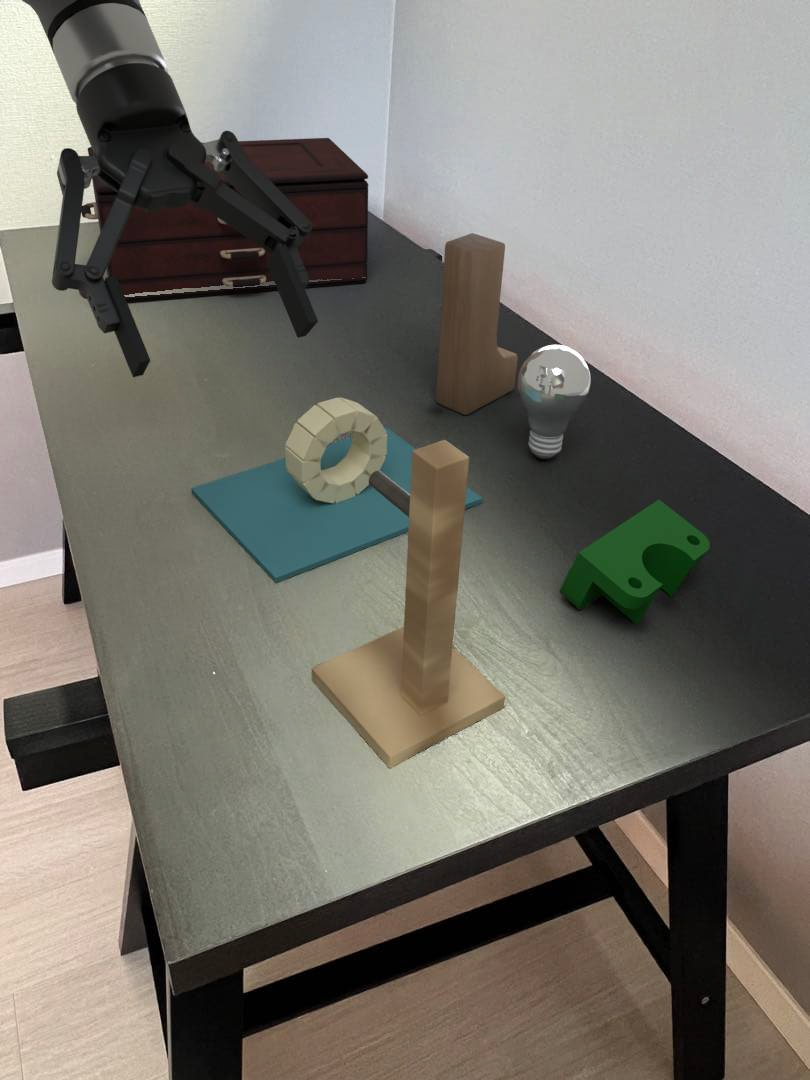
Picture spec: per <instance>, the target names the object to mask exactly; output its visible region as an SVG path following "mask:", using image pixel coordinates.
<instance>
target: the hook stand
mask: <svg viewBox="0 0 810 1080" xmlns="http://www.w3.org/2000/svg"><path fill="white" fill-rule="evenodd" d="M469 466H470V456H468V455H467V454H465V453H464V452H463V451H461V450H460V449H459V448H457V446H456V447H455V446H454V445H453V444H451V443H450V442H448V441H447V440H446V439H442V440H439V441H436V442H434V443H430V444H428V445H425V446H424V445H423V446H422V447H419V448H415V450H413V451H412V467H411V488H410V493H408V492H407V491H406V490H405V489H403V488H402V487H401V486H400V485H398V484H397V483H396V482H395V481H393V480H392V479H391V478H390V477H388V476H387V475H386V474H385V473H383V472H382V471H379V470H378V471H375V472H373V473H372V474H371V475H370V477H369V485H370V486H371V487H373V488H374V489H375V490H376V491H377V492H379V493H380V494H381V495H382V496H383V497H385V498H386V499H387V500H388V501H390V502H391V503H392V504H393V505H394V506H396V507H397V508H398V509H399V510H400V511H402V512H403V513H404V514H405V515H406V516H408V517H409V530H408V532H407V533H408V535H407V552H406V571H405V573H406V574H405V575H406V576H405V596H404V615H403V618H404V619H403V627H399V628H398V629H397V630H394V631H391V632H389V633H386V634H384V635H382V636H380V637H378V638H376V639H373V640H371V641H369V642H367V643H365V644H362V645H360V646H358V647H355V648H353V649H351V650H349V651H347V652H344V653H342V654H340V655H338V656H335V657H333V658H331V659H329V660H327V661H325V662H322V663H320V664H317V665H315V666H313V667H311V680H312V681H313V683H314V684H315V685H316V686H317V687H318V688H319V689H320V690H321V692H322V693H323V694H324V696H326V697H327V699H328V700H329V701H330V702H331V703H332V705H334V707H335V708H336V709H337V710H338V711H339V712H340V714H342V716H343V717H344V718H345V719H346V720H347V722H348V723H349V724H350V725H351V727H353V729H354V730H355V731H356V732H357V733H358V734H359V735H360V737H361V738H363V740H364V741H365V742H366V744H367V745H368V746H369V747H370V748H371V749H372V750H373V751H374V753H375V754H376V755H377V756H378V757H379V758H380V759H381V761H382V762H383V763H384V764H385V765H386V767H388V769H391V768H393V767H395V766H397V765H399V764H400V763H402V762H404V761H406V760H409V759H411V758H412V757H414V756H416V755H417V754H420V753H421V752H423V751H425V750H427V749H429V748H431V747H433V746H434V745H436V744H438V743H440V742H442V741H444V740H446V739H447V738H449V737H451V736H453V735H455V734H457V733H459V732H461V731H463V730H464V729H467V728H468V727H470V726H472V725H474V724H476V723H477V722H479V721H481V720H483V719H485V718H487V717H489V716H490V715H492V714H495V713H496V712H498V711H500V710H502V709H504V707H505V703H506V702H505V701H506V696H505V694H503V692H502V691H500V689H499V688H498V687H496V686H495V685H494V684H493V683H492V682H491V681H490V680H489V679H488V678H487V677H486V676H485V675H484V674H482V673H481V672H480V670H478V669H477V667H475V666H473V664H471V662H470V661H468V660H467V659H466V658H465V657H464V656H463V655H462V654H461V653H460V652H459V651H457V650H456V649H455V648H454V647H453V646H454V645H453V644H454V634H455V622H456V612H457V611H456V610H457V600H458V589H459V588H458V586H459V578H460V568H461V567H460V566H461V557H462V543H463V533H464V522H465V511H466V509H465V500H466V489H467V487H468V478H469V477H468V476H469Z"/></svg>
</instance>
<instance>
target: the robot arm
mask: <svg viewBox="0 0 810 1080" xmlns="http://www.w3.org/2000/svg"><path fill="white" fill-rule="evenodd" d="M21 1H22V2H23V3H25V4H27V5H28V6H30V8H31V9H32V10H33V11H34V13H35V14H36V15H37V17H38V20H39V23H40V24H41V26H42V29H43V31H44V34H45V36H46V38H47V40H48V42H49V46H50V48H51V50H52V53H53V56H54V58H55V61H56V63H57V65H58V68H59V70H60V72H61V76H62V77H63V80H64V83H65V85H66V87H67V90H68V92H69V95H70V97H71V99H72V101H73V103H74V104H75V107H76V112H77V116H78V117H79V121H80V122H81V125H82V127H83V130H84V133H85V136H86V137H87V139H88V143H89V144H90V147H92V149H93V151H94V153H95V156H89V155H79V153H78V152H77V151H76V150H74V149H73V148H71V147H65V148H63V149H62V150H61V152H60V156H59V161H58V164H57V165H58V166H57V170H56V176H57V179H58V183H59V188H60V191H61V195H62V200H61V206H60V216H59V223H58V230H57V237H56V247H55V254H54V262H53V269H52V277H51V285H52V286H53V288H54V289H56V290H57V291H61V292H62V291H63V292H64V291H67V290H68V289H70V290H71V289H72V290H77V291H78V293H79V295H80V297H81V298H83V299H86V300H87V302H88V304H89V307H90V309H91V312H92V314H93V317H94V319H95V322H96V324H97V327H98V328H99V330H100V331H102V333H103V334H108V333H112V332H114V334H115V336H116V339H117V341H118V344H119V347H120V349H121V352H122V354H123V357H124V360H125V362H126V365H127V366H128V368H129V371H130V374H131V376H132V378H136V377H141V376H143V375H144V374H145V372H146V370H147V368H148V367H149V364H150V362H151V361H152V360H151V358H150V356H149V353H148V350H147V348H146V346H145V343H144V340H143V339H142V336H141V333H140V330H139V328H138V326H137V324H136V320H135V318H134V316H133V313H132V311H131V309H130V306H129V304H128V303H127V301H126V299H125V296H124V294H123V291H122V289H121V286H120V284H119V281H118V279H117V277H116V276H111V277H108V276H107V277H105V278H104V276H105V273H106V272H107V266H108V264H109V261H110V259H111V257H112V254H113V252H114V250H115V247H116V245H117V243H118V240H119V238H120V236H121V233H122V231H123V229H124V226H125V224H126V222H127V220H128V218H129V215H130V213H131V210H132V208H133V206H134V205H135V206H136V207H138V208H141V209H145V210H146V212H153V211H157V210H159V209H162V208H164V207H169V208H180V207H185V205H186V203H188V202H189V203H191V204H192V205H194V206H195V207H197V208H198V209H200V210H201V211H209V212H210V213H212V214H213V215H215V216H216V217H218V218H219V219H221V220H222V221H224V222H225V223H227V224H228V225H229V226H231V227H232V228H234V229H235V230H237V231H238V232H240V233H241V234H243V235H244V236H246V237H247V238H248V239H250V240H251V241H253V242H254V243H256V244H257V245H259V246H260V247H262V248H263V249H265V250H266V251H267V252H269V253H270V254H272V255H271V257H270V258H269V260H268V261H267V265H268V267H269V270H270V272H271V275H272V277H273V280H274V282H275V284H276V287H277V289H278V290H277V291H278V294H279V297H280V299H281V301H282V304H283V306H284V308H285V311H286V313H287V315H288V318H289V320H290V323H291V326H292V328H293V330H294V333H295V335H296V337H297V339H298V338H302V337H307V335H308V334H309V333H310V332H311V330H313V328H314V327H315V326H316V325H317V324H318V322H319V320H318V318H317V315H316V313H315V310H314V308H313V305H312V303H311V300H310V299H309V296H308V293H307V291H306V287H307V285H308V284H309V276H308V273H307V271H306V268H305V266H304V264H303V261H302V259H301V256H300V254H299V252H298V249H297V247H300V246H301V244H302V243H303V242H304V240H305V239H306V237H307V236H308V234H309V233H310V231H311V230H312V224H311V222H310V221H309V220H308V219H307V218H306V217H305V216H304V215H303V214H302V213H301V212H300V211H299V210H298V208H297V207H296V206H295V205H294V204H293V203H292V202H291V201H290V200H289V199H288V198H287V197H286V196H285V195H284V194H283V193H282V192H281V191H280V190H279V189H278V188H277V187H276V186H275V185H274V184H273V183H272V182H271V181H270V180H269V179H268V178H267V177H266V176H265V174H264V173H263V172H262V171H261V170H260V169H259V168H258V167H257V166H256V165H255V164H254V163H253V162H252V161H251V160H250V159H249V158H248V157H247V156H246V155H245V153H244V151H243V149H242V147H241V145H240V143H239V142H238V141H239V140H238V137H237V136H236V135H235V133H234V132H232V131H230V130H223V131H222V132H221V134H220V136H219V138H218V139H214V140H211V141H206V142H201V140H200V139H199V138H197V137H196V135H195V134H194V133H193V131H192V129H191V125H190V121H189V118H188V115H187V111H186V109H185V107H184V105H183V103H182V102H183V101H182V100H181V97H180V95H179V91H178V90H177V88H176V85H175V82H174V80H173V78H172V76H171V75H170V74H169V68H168V66H167V63H166V60H165V58H164V56H163V54H162V51H161V48H160V46H159V44H158V42H157V39H156V38H155V35H154V32H153V30H152V27H151V25H150V23H149V20H148V17H147V16H146V13H145V10H143V7H142V4H141V1H140V0H21ZM205 162H210V163H211V164H213V165H214V166H215V167H214V169H215V171H217V172H221V171H222V173H223V175H224V176H225V177H226V179H227V180H228V181H229V182H230V184H231V185H232V186H233V187H234V188H235V189H236V190H237V191H238V192H239V193H240V194H241V195H242V196H243V197H242V196H241V195H240V194H238V193H237V192H235V191H234V190H232V189H231V188H230V187H228V186H227V185H225V184H224V183H223V182H222V179H221V177H220V176H219V175H218V174H217V173H215V172H214V171H212V170H211V169H209V168H208V167H207V166H205V165H204V163H205ZM95 175H97V176H98V177H99V179H100V180H102V181H103V182H104V183H106V184H107V185H108V186H110V187H111V188H112V189H113V190H115V191H116V192H117V196H116V198H115V201H114V203H113V205H112V207H111V210H110V212H109V214H108V217H107V219H106V221H105V224H104V226H103V228H102V230H101V233H100V232H99V235H98V237H97V240H96V242H95V244H94V246H93V249H92V251H91V253H90V256H89V258H88V259H87V262H86V264H79V263H76V258H77V250H78V242H79V233H80V225H81V219H82V213H81V210H82V206H83V201H84V194H85V190H86V189H88V188H89V187H90V186H91V182H92V177H93V176H95ZM199 182H200V183H201V184H202V185H203V186H204V187H205V189H204V191H201V190H200V189H198V188H197V187H198V184H199Z"/></svg>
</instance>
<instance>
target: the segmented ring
mask: <svg viewBox="0 0 810 1080" xmlns="http://www.w3.org/2000/svg"><path fill="white" fill-rule="evenodd" d="M384 427H385V426H383V424H382V422H381V421H380V419H379V418H378V416H377V415H375V413H372V412H371V411H370V410H368V409H367V408H365V406H363V405H362V404H360V403H358V402H356V401H353V400H351V399H348V398H344V397H341V396H340V397H334V398H331V399H328V400H327V399H326V400H324V401H321V402H317V404H314V405H312V407H311V408H309V409H308V410H307V411H306V412H305V413H304V414H303V415H302V416H301V417H299V418H298V419H297V422H295V423H294V424H293V427H292V429H291V431H290V434H289V436H288V438H287V440H286V443H285V446H284V452H285V453H284V456H285V457H284V458H286V468H287V471H288V472H289V474H290V475H291V476H292V478H293V479H294V480H295V481H296V483H297V484H298V485H299V486H300V487H301V488H303V489H304V490H305V491H306V492H307V493H308V494H309V495H310V496H311V497H313V498H314V499H315V500H319V501H323V502H328V503H333V504H334V502H335V503H338V502H341V501H344V500H347V499H350V498H353V497H355V496H356V494H357V495H358V494H359V493H360V492H361V491H363V490H364V489H365V488H366V487H367V486H368V485H369V477H370V475H371V474H372V473H373V472H375V471H378V470H379V471H380V469H381V466H382V464H383V462H384V460H385V458H386V457H385V455H387V434H386V431H385V429H384ZM349 432H352V433H351V435H352V436H351V437H352V445H351V447H350V449H349V451H348V453H347V455H346V457H345V458H344V459H343V460H341V461H340V462H339V463H338V464H337V465H336V466H334V467H331V468H328V469H325V470H321V465H320V460H321V458H322V455H323V453H324V451H325V449H326V447H327V445H328V444H331V443H332V442H333V441H334V440H335V439H336V438H337V437H338V436H340V435H343V434H346V433H349Z"/></svg>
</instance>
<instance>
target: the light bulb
mask: <svg viewBox="0 0 810 1080" xmlns="http://www.w3.org/2000/svg"><path fill="white" fill-rule="evenodd" d="M589 368H590V367H589V366H588V363H587V362H586V361H585V359H584V358H583V357H582V355H581V354H579V353H578V352H577V351H576V350H575V349H573V348H571V347H569V346H567V345H562V344H550V345H545V346H542V347H540V348H537V349H536V350H534V351H533V352H532V353H530V354H529V355H528V356H527V358H526V359H525V360H524V362H523V363H522V365H521V367H520V370H519V372H518V376H517V390H518V395H519V398H520V400H521V403H522V404H523V406H524V408H525V410H526V413H527V416H528V418H527V419H528V420H527V421H528V426H529V429H530V430H529V437H528V447H529V450H530V451H531V453H532V454H533V455H534V456H535V457H537V458H538V459H539V460H541V461H547V460H549V459H551V458H553V457H554V456H556V455H557V454H558V453H560V452H561V451H562V445H563V438H564V434H565V432H566V430H567V429H568V427H569V424H570V420H571V419H572V418H573V417H574V415H575V414H576V413H577V412H578V411H580V409H581V408H582V406H584V404H585V402H586V400H587V399H588V397H589V394H590V390H591V385H592V377H591V372H590V371H591V370H590V369H589Z"/></svg>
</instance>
